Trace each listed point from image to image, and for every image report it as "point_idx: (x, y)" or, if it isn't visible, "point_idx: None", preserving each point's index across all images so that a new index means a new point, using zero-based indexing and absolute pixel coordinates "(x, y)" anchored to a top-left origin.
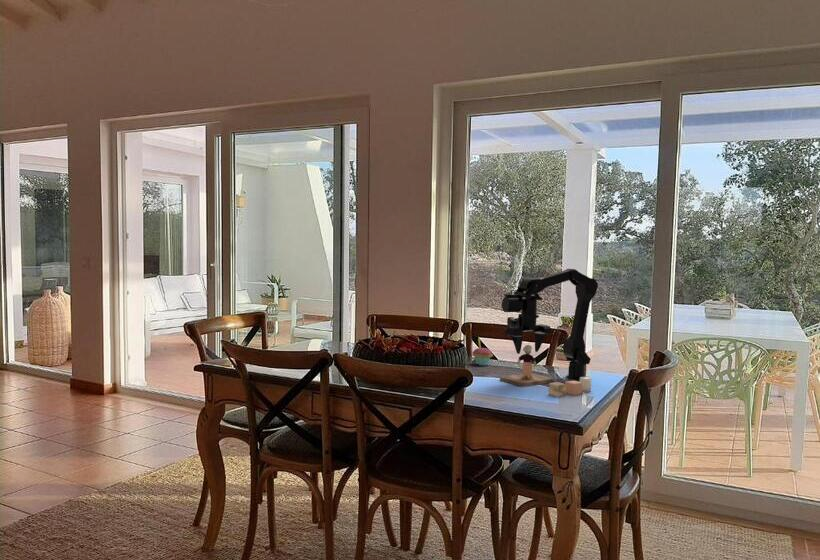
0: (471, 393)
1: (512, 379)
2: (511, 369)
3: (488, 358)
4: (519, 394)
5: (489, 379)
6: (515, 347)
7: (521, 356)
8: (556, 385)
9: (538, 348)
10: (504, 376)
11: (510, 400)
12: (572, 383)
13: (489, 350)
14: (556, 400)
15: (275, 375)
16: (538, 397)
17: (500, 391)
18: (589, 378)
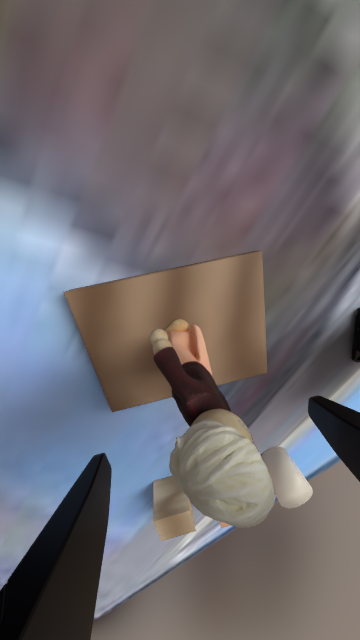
0: None
1: (104, 351)
2: (261, 35)
3: None
4: (62, 479)
5: (17, 262)
6: (47, 530)
7: (168, 381)
8: (161, 537)
9: (338, 451)
10: (91, 288)
11: (7, 524)
12: (221, 523)
13: None
14: (138, 524)
15: None
16: None
17: (6, 447)
18: (302, 500)
